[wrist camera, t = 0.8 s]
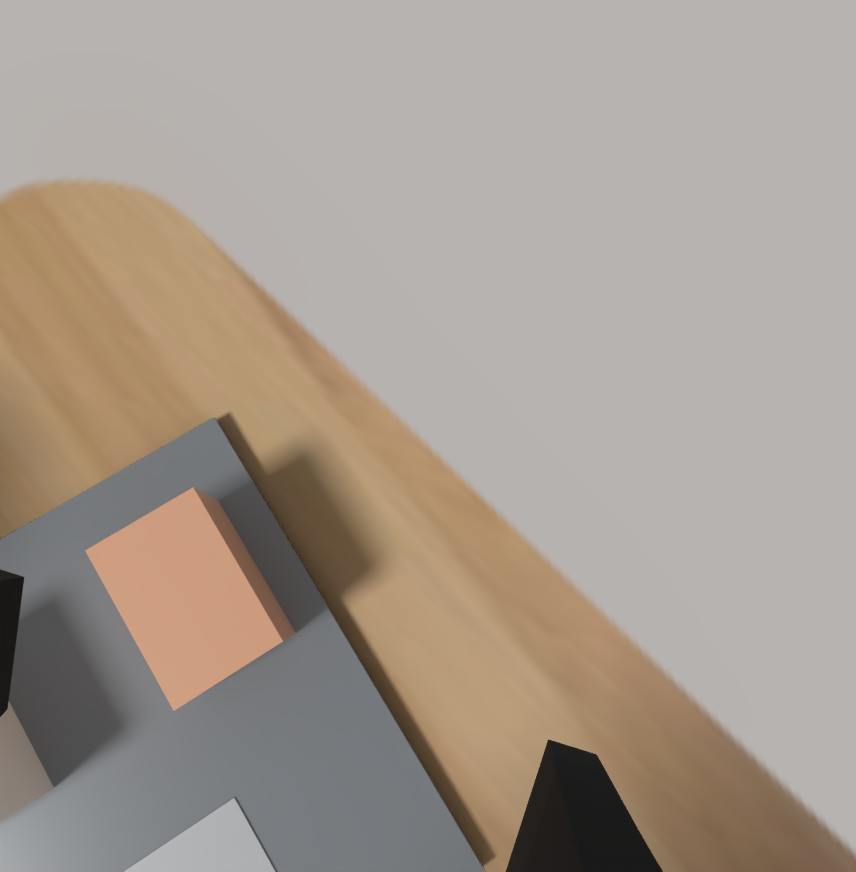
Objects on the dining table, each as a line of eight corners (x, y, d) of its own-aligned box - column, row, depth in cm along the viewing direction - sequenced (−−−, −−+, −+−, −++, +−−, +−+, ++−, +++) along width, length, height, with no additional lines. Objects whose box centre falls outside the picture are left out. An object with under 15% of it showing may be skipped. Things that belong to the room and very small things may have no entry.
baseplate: (63, 1172, 25) (53, 1190, 24) (-190, 653, 27) (-205, 655, 27) (482, 866, 28) (485, 873, 27) (217, 420, 30) (213, 416, 29)
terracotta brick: (202, 692, 28) (173, 710, 24) (125, 555, 28) (84, 550, 24) (296, 633, 28) (283, 641, 24) (218, 500, 29) (193, 486, 25)
